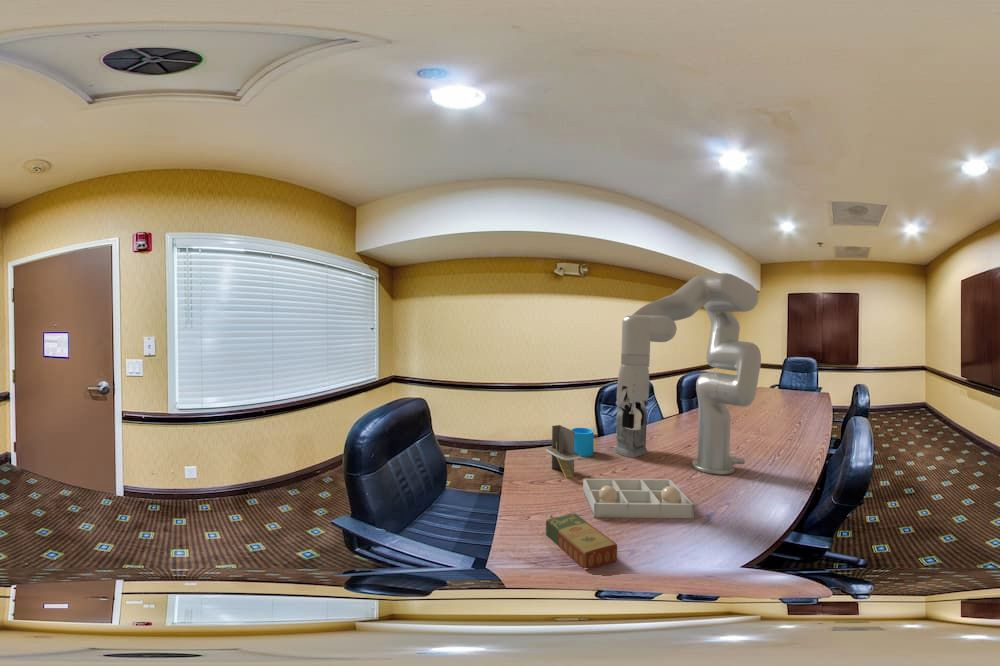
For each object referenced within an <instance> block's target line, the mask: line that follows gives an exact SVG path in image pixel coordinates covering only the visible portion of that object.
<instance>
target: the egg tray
mask: <svg viewBox="0 0 1000 666" xmlns="http://www.w3.org/2000/svg"><path fill="white" fill-rule="evenodd" d="M603 486H612V487H613V488H614V489H615V490H616V492H617V499H616V503H600V497H599V491H600V489H601V488H602V487H603ZM667 486H672V487H674V488H676V489H677V490H678V492H679V494H680V499H679V504H671V503H662V497H661V492H662V490H663V488H665V487H667ZM582 492H583V494H584V496H585V498H586V501H587V503H588V506H589V508H590V511H591V513H592V516H593V518H599V519H600V518H602V519H603V518H606V519H607V518H610V519H611V518H612V519H613V518H614V519H615V518H616V519H617V518H618V519H619V518H621V519H623V518H624V519H630V518H631V519H635V518H636V519H644V518H645V519H694V518H695V517H694V516H695V515H694V514H695V513H694V512H695V504H694V503H693V502H692V501H691V499H689V497H687V496H686V494H684V492H682V490H681V489H680V488H679V487H678V486H677V485H676V484H675V483H674V482H673V481H672V479H670V478H669V479H667V478H665V479H664V478H662V479H659V478H656V479H655V478H582Z"/></svg>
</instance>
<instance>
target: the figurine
mask: <svg viewBox="0 0 1000 666" xmlns="http://www.w3.org/2000/svg"><path fill="white" fill-rule="evenodd" d="M627 402H630V401H629V400H627ZM637 403H638V402H637ZM615 405H616V406H617V410H616V420H615V425H616V426H615V432H616V436H615V439H616V446H614V448H613V452H614V453H615V454H618V455H620V456H624V457H627V458H632V459H633V458H636V457H639V456H642V455H646V454H648V451H647V450H648V449H647V448H646V447H647V446H646V445H647V425H648V423H647V422H648V421H647V420H648V419H647V418H648V417H647V416H648V412H647V411H646V409H645V410H644V424H643V425H642V426H641V429H640V430H630V429H626V428H625V427H623V426H622V419H623V413H622V409H621V407H620V405H619V404H618V400H617V399H616V401H615ZM627 405H628V406H629V408H630V404H627ZM648 405H649V401H648V400H647V401H646V404H645V408H646V407H648Z"/></svg>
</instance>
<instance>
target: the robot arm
mask: <svg viewBox="0 0 1000 666" xmlns="http://www.w3.org/2000/svg"><path fill="white" fill-rule="evenodd" d="M758 301H759V293H758V291H757V289H756V288H755V287H754V285H753V284H751V283H749V282H748V281H745V280H744V279H742V278H740V277H739V276H736V275H734V274H731V273H728V272H727V273H726V272H723V273H722V272H720V273H706V274H705V273H704V274H699V275H695V276H694V277H692V278H691V279H689V280H688V281H687V282H686V283H685V284H683V285H682V286H680V288H678V289H677V290H676V291H674V292H673V293H672V294H669V295H667V296H664V297H662V298H659V299H657V300H654V301H652V302H651V301H650V302H649V303H646V304H644V306H641V307H640V308H639V309H638V310H636V311H635V312H634V313H632V314H631V315H626V316H624V317H623V318H622V324H621V325H622V327H621V354H620V355H621V356H620V366H619V371H618V376H617V386H616V400H618V404H619V405H620V407H621V409H622V413H623V419H622V426H623V427H626V428H630V429H633V428H634V414H633V408H637V409H638V410H639V411H640V412H641V414H642V419H641V426H642V425H643V424H644V410H646V407H645V404H646V401H648V399H649V395H650V371H649V370H650V369H649V367H650V356H651V354H650V352H651V342H653V343H666V342H670V341H671V340H673V338H674V337H675V336H676V334H677V329H678V328H677V324H676V322H675V321H680V320H685V319H688V318H691V317H693V316H694V314H696V313H697V312H698V311H699V310H700V309H701V308H702V307H703V308H704V310H705V311H706V314H707V316H708V318H709V321H710V331H709V339H708V344H707V351H706V363H707V364H708V365H709V366H710V367H711V368H714V369H718V370H724V371H725V370H726V371H734V372H736V373H737V374H729V373H722V372H716V371H715V372H714V371H709V372H704V373H702V374H699V376H698V378H697V379H696V383H695V386H696V387H695V391H696V397H697V402H698V420H697V421H698V425H697V451H696V452H697V453H696V455H697V456H696V457H697V458H696V459H694V460H692V462H691V465H692V467H693V468H694V469H695V470H698V471H699V472H703V473H707V474H712V475H721V476H722V475H731V474H733V473H734V472H735V465H736V464H737V465H744V464H745V462H746V460H745V458H744V457H737V456H736V455H735V456H731V455H730V448H731V444H730V443H731V424H732V423H731V420H732V419H731V414H730V411H729V408H728V406H727V405H730V406H734V407H741V408H746V407H749V406H751V405H752V403H753V402H755V401H754V400H755V398H756V394H757V388H758V384H759V383H758V382H759V376H760V370H761V365H762V354H761V351H760V348H759V347H758V345H757V344H755V343H754V342H750V341H739V337H740V332H741V331H740V330H741V329H740V328H741V326H740V322H739V321H738V320H737V317H736V316H735V314H734V313H733V312H737V313H738V312H741V313H743V312H744V313H745V312H750V311H753V310H754V309H755V308H756V306H757V304H758ZM627 400H629V401H630V402H627ZM637 402H638V403H637ZM627 404H630V408H629V406H628V405H627Z"/></svg>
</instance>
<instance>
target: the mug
mask: <svg viewBox="0 0 1000 666" xmlns="http://www.w3.org/2000/svg"><path fill="white" fill-rule="evenodd" d="M570 430H572V431H574V432H575V438H574V452H576V453H578V454H579V455H580V457H592V456H593V455H594V448H595V447H594V445H595V444H594V443H595V442H594V441H595V440H594V438H595V437H594V436H595V434H594V433H595V431H594V430H593V428H592V429H591V428H588V427H574V428H571V429H570Z"/></svg>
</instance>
